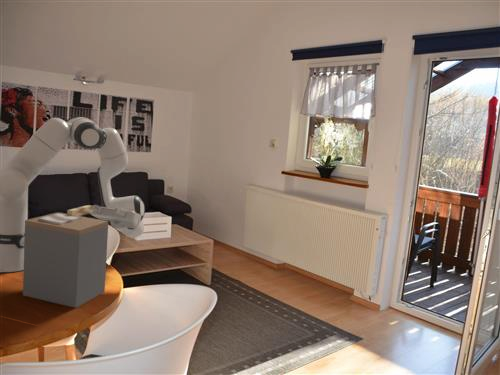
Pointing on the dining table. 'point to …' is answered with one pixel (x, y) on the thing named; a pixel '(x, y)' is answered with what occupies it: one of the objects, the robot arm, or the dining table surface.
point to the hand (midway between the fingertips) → (105, 208)
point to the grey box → (65, 260)
